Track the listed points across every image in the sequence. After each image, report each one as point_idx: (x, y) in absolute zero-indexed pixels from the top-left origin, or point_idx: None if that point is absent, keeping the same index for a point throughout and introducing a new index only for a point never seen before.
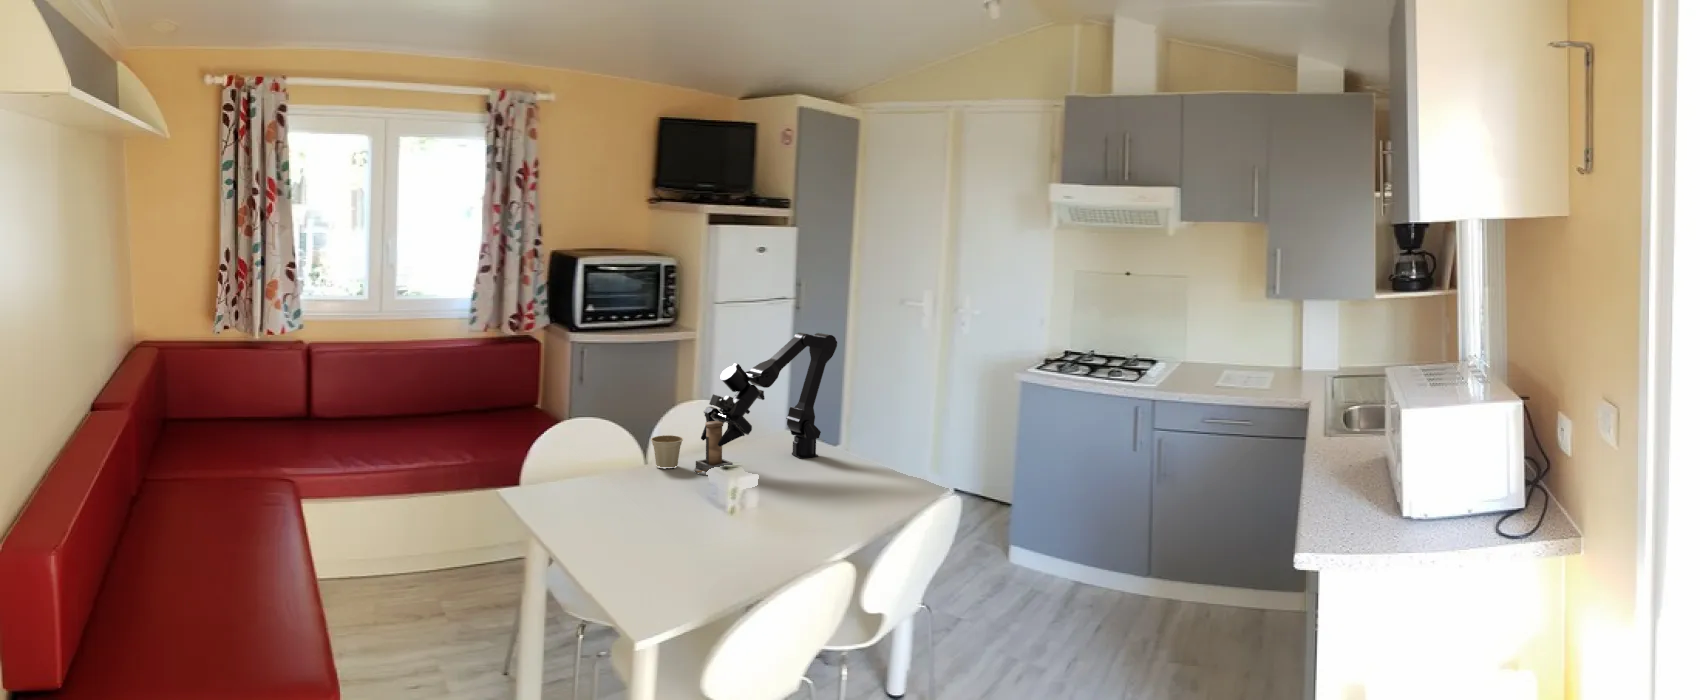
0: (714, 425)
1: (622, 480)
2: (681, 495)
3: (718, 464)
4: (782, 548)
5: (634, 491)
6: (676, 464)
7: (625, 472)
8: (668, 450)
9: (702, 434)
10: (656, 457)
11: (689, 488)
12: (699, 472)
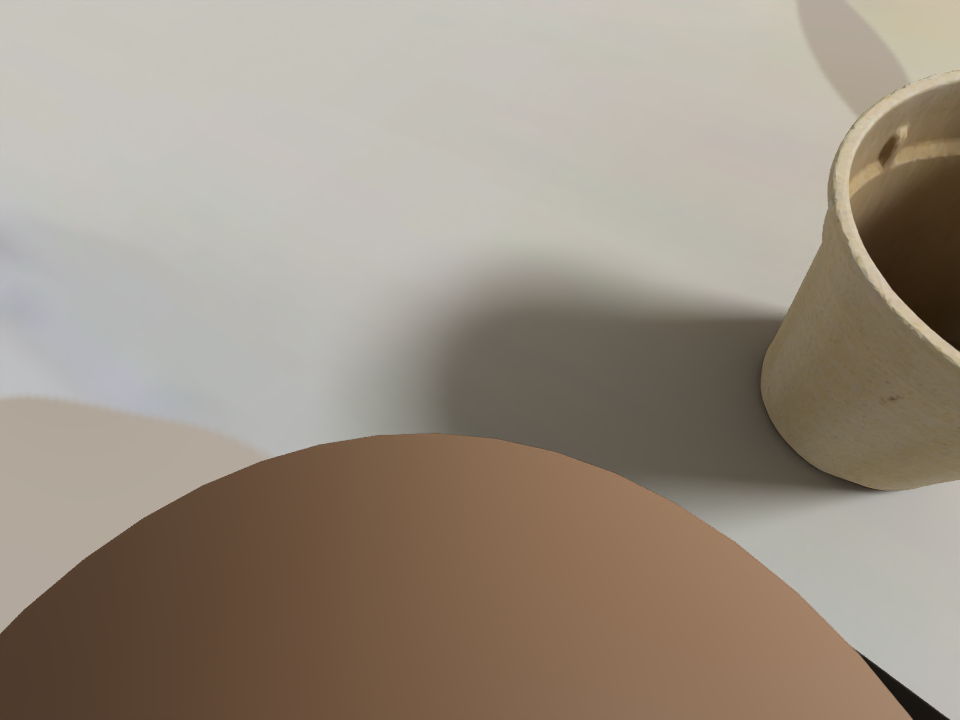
0: (12, 662)
1: (629, 62)
2: (158, 159)
3: None
4: None
5: (397, 39)
6: (793, 430)
7: (807, 127)
8: (820, 246)
9: (916, 709)
10: (887, 249)
11: (224, 248)
12: None
